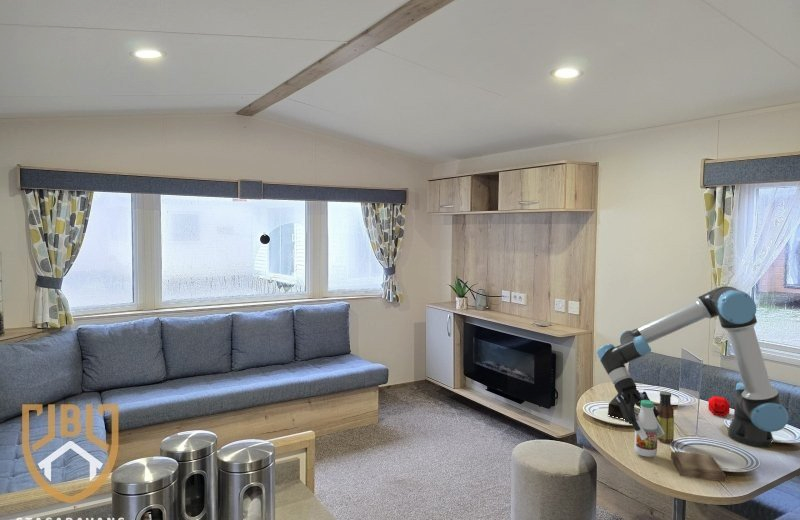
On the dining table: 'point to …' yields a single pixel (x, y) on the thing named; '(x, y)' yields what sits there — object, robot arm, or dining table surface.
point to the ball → (718, 406)
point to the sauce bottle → (666, 417)
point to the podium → (697, 466)
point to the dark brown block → (615, 408)
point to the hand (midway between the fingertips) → (653, 436)
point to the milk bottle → (647, 430)
